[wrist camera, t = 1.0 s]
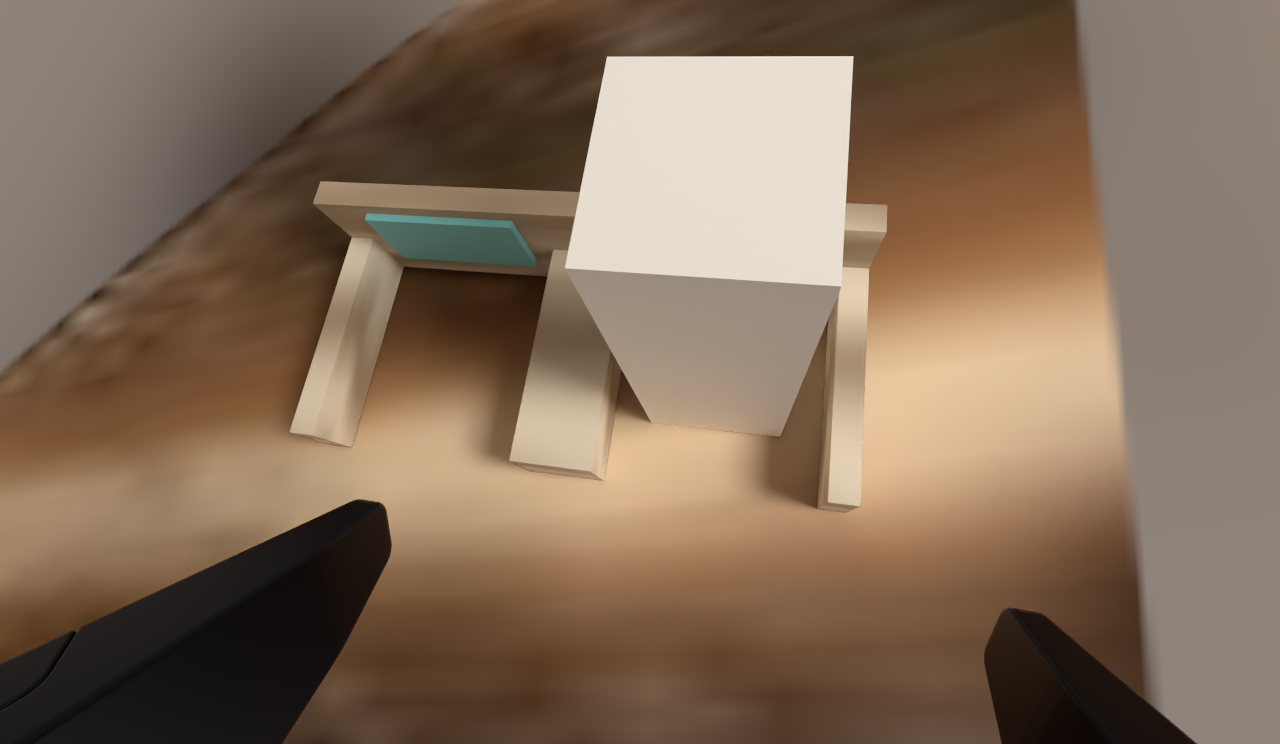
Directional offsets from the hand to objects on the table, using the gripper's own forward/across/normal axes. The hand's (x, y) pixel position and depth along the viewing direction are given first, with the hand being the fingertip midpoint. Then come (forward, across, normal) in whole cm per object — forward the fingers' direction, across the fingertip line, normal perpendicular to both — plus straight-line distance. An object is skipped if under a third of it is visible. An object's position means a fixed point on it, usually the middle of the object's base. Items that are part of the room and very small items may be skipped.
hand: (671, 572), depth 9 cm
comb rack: (+15, +5, +4) cm, 17 cm away
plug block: (+15, 0, +4) cm, 16 cm away
